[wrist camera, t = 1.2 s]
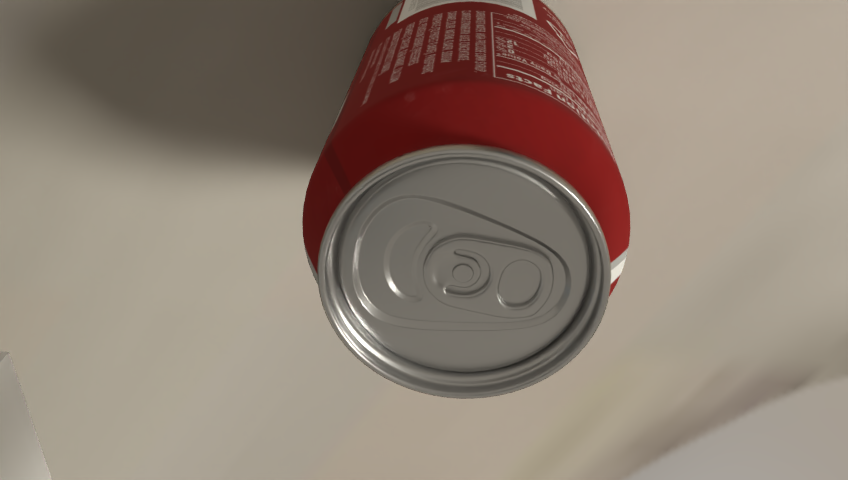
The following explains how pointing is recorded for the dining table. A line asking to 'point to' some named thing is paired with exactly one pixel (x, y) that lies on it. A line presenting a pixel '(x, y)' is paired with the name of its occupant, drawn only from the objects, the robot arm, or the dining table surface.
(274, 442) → the dining table surface
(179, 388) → the dining table surface
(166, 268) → the dining table surface
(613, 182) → the soda can
